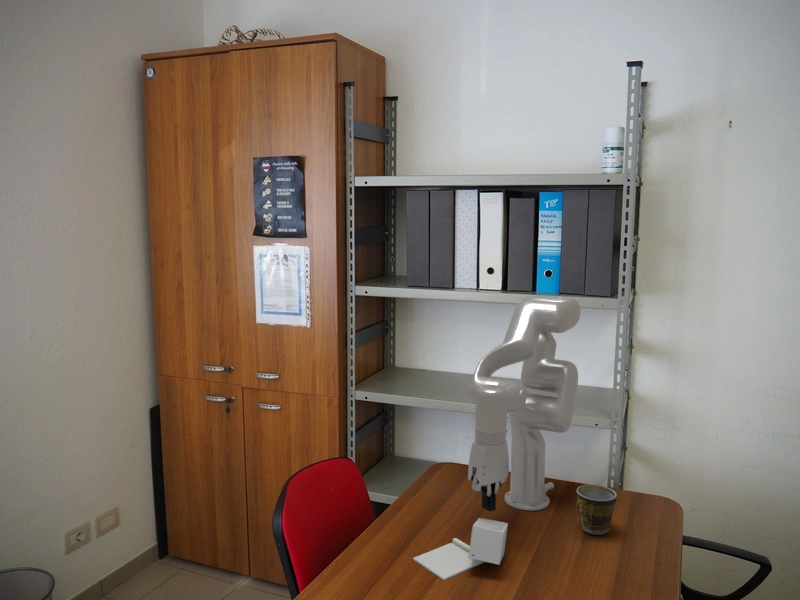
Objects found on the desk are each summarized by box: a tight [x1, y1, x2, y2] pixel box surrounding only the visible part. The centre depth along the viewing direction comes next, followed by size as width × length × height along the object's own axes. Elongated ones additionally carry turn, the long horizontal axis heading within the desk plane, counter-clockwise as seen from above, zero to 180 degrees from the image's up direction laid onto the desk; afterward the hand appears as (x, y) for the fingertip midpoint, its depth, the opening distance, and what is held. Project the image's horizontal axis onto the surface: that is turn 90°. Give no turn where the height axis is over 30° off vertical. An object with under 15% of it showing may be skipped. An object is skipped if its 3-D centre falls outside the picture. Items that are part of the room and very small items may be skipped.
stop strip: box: [452, 537, 486, 563], centre depth 151 cm, size 1×11×1 cm, turn 37°
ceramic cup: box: [575, 484, 618, 536], centre depth 162 cm, size 13×10×10 cm
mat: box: [412, 542, 484, 581], centre depth 147 cm, size 12×11×1 cm
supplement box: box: [468, 517, 509, 566], centre depth 146 cm, size 7×7×13 cm
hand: (488, 508), depth 154 cm, fingers closed
